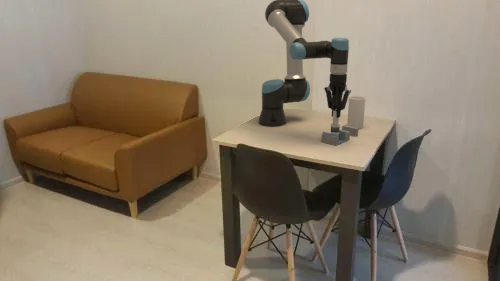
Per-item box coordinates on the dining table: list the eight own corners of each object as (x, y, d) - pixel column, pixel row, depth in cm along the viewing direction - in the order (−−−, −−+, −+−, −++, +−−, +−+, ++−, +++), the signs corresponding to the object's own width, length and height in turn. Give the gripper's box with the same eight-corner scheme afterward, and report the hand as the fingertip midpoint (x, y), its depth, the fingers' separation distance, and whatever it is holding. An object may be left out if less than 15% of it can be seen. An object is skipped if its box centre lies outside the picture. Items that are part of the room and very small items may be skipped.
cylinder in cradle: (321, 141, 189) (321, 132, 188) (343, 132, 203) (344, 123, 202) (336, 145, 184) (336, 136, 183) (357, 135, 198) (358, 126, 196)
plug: (328, 140, 190) (329, 124, 188) (333, 138, 193) (334, 122, 190) (335, 142, 187) (336, 126, 185) (340, 140, 190) (341, 124, 188)
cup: (363, 129, 208) (366, 99, 203) (347, 128, 210) (349, 98, 205) (362, 125, 216) (364, 95, 211) (346, 124, 217) (348, 95, 212)
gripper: (321, 72, 182) (319, 122, 189) (346, 75, 173) (343, 128, 181) (330, 71, 187) (328, 119, 194) (355, 73, 178) (352, 124, 186)
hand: (335, 123), depth 188 cm, fingers closed
